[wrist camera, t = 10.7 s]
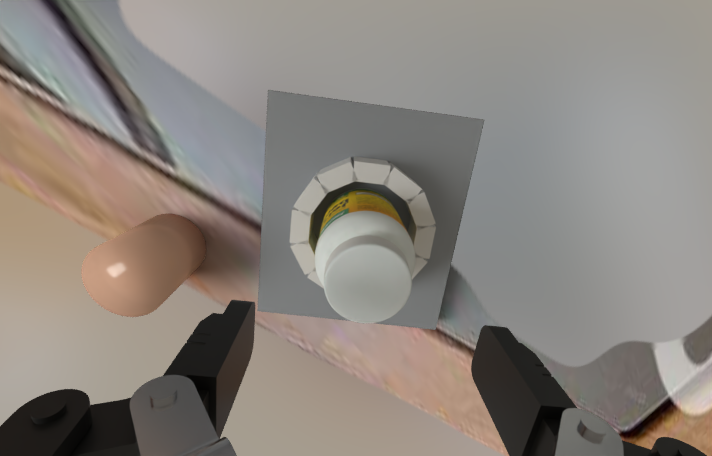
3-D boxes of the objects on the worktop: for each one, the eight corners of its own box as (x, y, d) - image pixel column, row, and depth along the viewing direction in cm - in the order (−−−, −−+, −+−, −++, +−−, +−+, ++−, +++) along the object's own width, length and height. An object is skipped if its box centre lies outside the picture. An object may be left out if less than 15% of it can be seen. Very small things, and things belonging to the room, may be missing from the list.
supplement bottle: (378, 269, 26) (394, 353, 17) (311, 241, 25) (289, 314, 16) (412, 204, 24) (449, 259, 15) (341, 173, 23) (336, 210, 14)
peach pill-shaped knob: (141, 271, 27) (86, 312, 22) (137, 210, 26) (76, 237, 20) (206, 278, 28) (168, 320, 22) (206, 217, 26) (165, 246, 20)
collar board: (262, 301, 28) (248, 330, 24) (273, 91, 23) (257, 86, 19) (431, 319, 29) (443, 350, 25) (476, 119, 24) (500, 120, 20)
